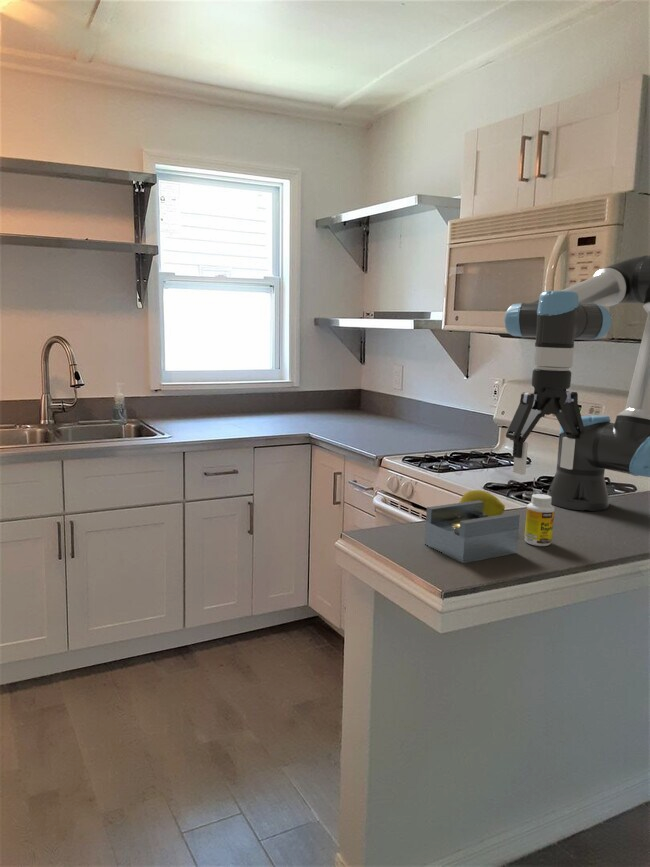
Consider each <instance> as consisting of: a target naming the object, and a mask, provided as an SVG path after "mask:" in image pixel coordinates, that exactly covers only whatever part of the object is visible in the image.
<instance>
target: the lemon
mask: <svg viewBox="0 0 650 867" xmlns="http://www.w3.org/2000/svg"><path fill="white" fill-rule="evenodd" d="M477 500H480V501H482V502H484V510H483V513H485V514H487V515H488V517H490V516H497V515H503V514H504V512H505V509H506V508H505V504H503V503H502V501H500V500H499V499H498V497H497V496H495V495H494V494H491V493H489V492H488V491H484V490H480V489H479V490H478V489H477V490H476V489H475V490H470V491H467V492H465V493H464V494H463V496H462V497H461V498H460V500H459V502H458V503H462V502H470V501H477Z"/></svg>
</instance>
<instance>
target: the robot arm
mask: <svg viewBox="0 0 650 867" xmlns="http://www.w3.org/2000/svg"><path fill="white" fill-rule="evenodd" d="M618 304H642V308H643V309H644V310H645V312H646V314H647V317H646V321H645V325H644V330H643V334H642V338H641V341H640V346H639V350H638V354H637V359H636V363H635V366H634V367H635V368H634V371H633V374H632V375H633V376H632V379H631V383H630V388H629V391H628V395H627V399H626V400H627V401H626V404H625V408H624V409H623V411H621V412H619V413H618V414H616V417H615V421H614V422H611V418H610V416H609V415H603V414H601V415H600V414H594V415H593V414H592V415H591V414H589V415H582V414H581V410H580V406H579V403H578V401H579V399H578V398H579V397H578V395H579V394H578V392H577V391H570V390H568V389H570V388H571V382H572V372H571V370H570V369H571V368H572V367H573V364H574V363H573V362H574V350H575V346H574V345H575V340H579V341H580V340H582V341H583V340H584V341H593V340H599V339H601V338H603V337H605V336H606V335H607V333H609V331H610V328H611V326H612V315H611V313H610V311H609V310H608V308H606V307H613V306H616V305H618ZM504 328H505V330H506V331H507V333H508V334H509V335H510V336H513V337H521V338H525V339H526V338H535V342H534V355H533V366H534V367H535V368H534V369H533V370H532V377H531V385H532V387H533V389H534V390H533V392H527V391H526V392H524V391H523V392H521V393H520V400H519V404H518V406H517V408H516V411H515V413H514V416H513V417H512V420H511V422H510V425H509V426H508V429H507V431H506V434H505V437H506V439H509V440H511V441H513V447H512V457H513V469H512V472H513V473H515V474H519V475H523V476H524V475H526V472H527V458H528V450H529V449H528V448H529V442H526V440H527V438H528V437H529V436H530V434H531V433H532V432H533V430H534V429H535V427H536V425H537V424H538V422H539V421H540V420H541V418H543V417H545V415H546V416H547V415H548V416H549V415H554V416H555V418H556V419H557V421H558V423H559V426H560V427H559V432H558V447H557V460H556V470H555V475H554V476H553V478H552V481H551V484H550V486H549V488H548V490H547V493H546V495H549V496H551V497H552V500H551V505H552V506H557V507H561V508H564V509H569V510H576V511H584V510H589V511H591V512H592V511H593V512H594V511H597V512H598V511H604V510H607V509H608V508H609V507H610V496H609V495H608V489H607V484H606V480H605V470H609V471H612V472H617V473H623V474H628V475H632V476H635V477H646V478H650V255H637V256H634V257H630V258H627V259H624V260H621V261H618V262H615V263H613V264H610V265H608V266H606V267H603V268H600V269H599V270H597V271H596V272H594V274H592V277H590V278H588V279H586V280H583V281H579V282H578V283H575V284H573V285H571V286H568V287H566V288H564V289H562V290H547V291H545V290H544V291H543V292H541V293H540V295H539V299H537V300H534V301H532V302H528V303H527V302H520V303H513V304H511V305H510V306H509V307H508V308H507V310H506V311H505V314H504ZM589 511H588V512H589Z"/></svg>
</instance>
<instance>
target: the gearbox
mask: <svg viewBox="0 0 650 867" xmlns="http://www.w3.org/2000/svg"><path fill="white" fill-rule="evenodd" d="M483 510H484V502H482V501H480V500H477V501H470V502H462V503H459V502H456V503H450V504H449V503H448V504H442V505H434V506H428V507H426V519H425V534H424V535H425V536H424V545H425V544H426V545H425V546H427V545H428V546H427V547H428V548H430V549H433V548H434V549H433V550H435V549H436V550H435V551H437V550H438V551H437V552H439V551H440V552H439V553H441V552H442V553H441V554H443V555H445V556H447V557H449V558H451V559H453V560H455V561H457V562H459V563H461V564H467V563H468V564H469V563H473V562H478V561H483V560H488V559H489V560H490V559H493V558H499V557H503V556H504V557H505V556H509V555H515V554H517V553H518V544H519V543H518V540H519V528H520V525H519V524H520V515H521V514H518V513H515V512H510V513H505V514H504V513H503V514H502V515H497V516H490V517H488V515H487V514H485V513H483Z"/></svg>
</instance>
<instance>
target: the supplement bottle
mask: <svg viewBox="0 0 650 867" xmlns="http://www.w3.org/2000/svg"><path fill="white" fill-rule="evenodd" d="M530 500H531V502H530V503H528V504H527V505H526V515H525V517H526V518H525V526H524V537H523V538H524V541H525V543H527V544H529V545H531V546H535V547H547V546H550V545H551V543H552V538H553V528H554V519H555V510H556V509H555V507H554V505H553V504H551V500H552V497H551V496H549V495H547V494H543V493H534V494H532V495H531V499H530Z"/></svg>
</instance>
